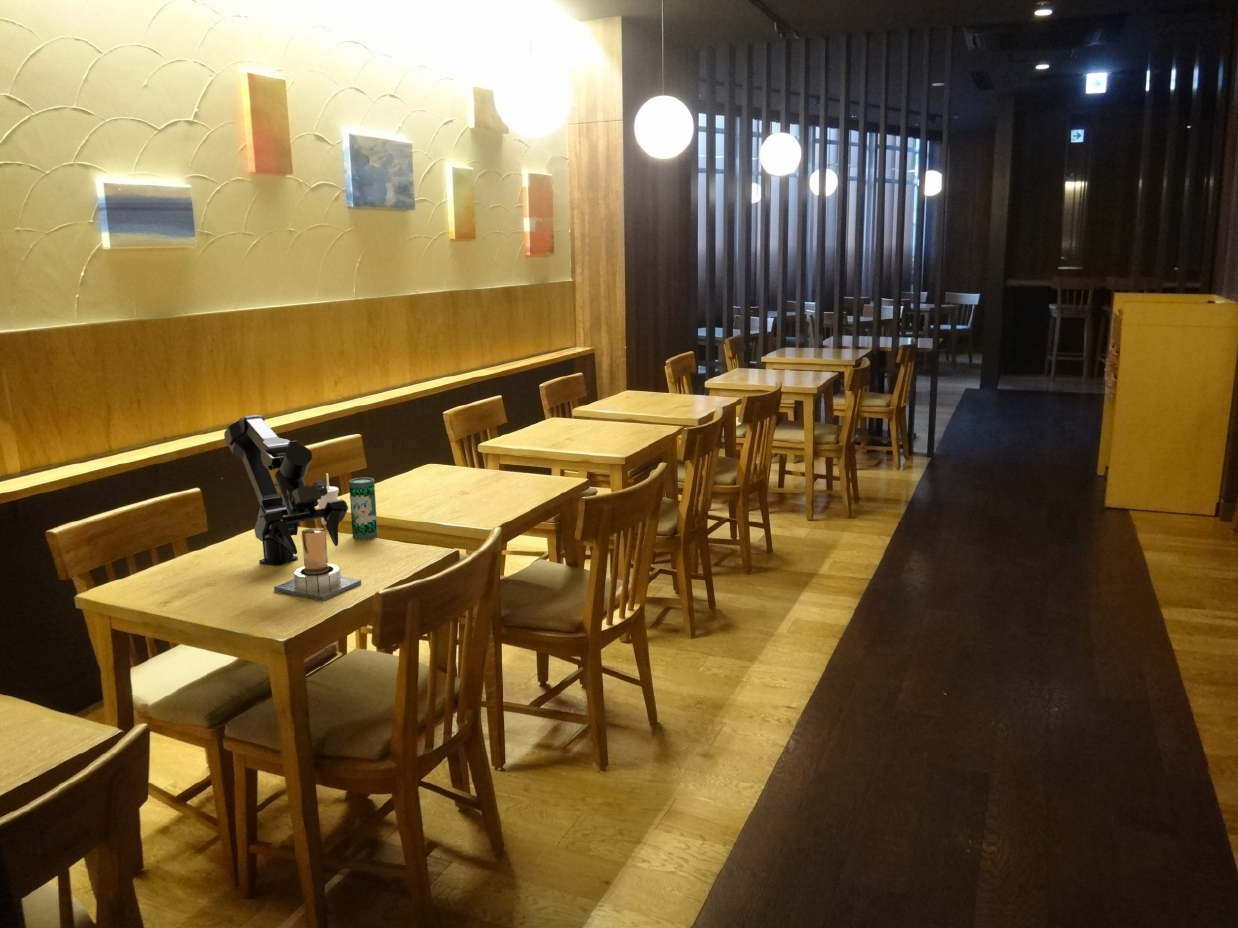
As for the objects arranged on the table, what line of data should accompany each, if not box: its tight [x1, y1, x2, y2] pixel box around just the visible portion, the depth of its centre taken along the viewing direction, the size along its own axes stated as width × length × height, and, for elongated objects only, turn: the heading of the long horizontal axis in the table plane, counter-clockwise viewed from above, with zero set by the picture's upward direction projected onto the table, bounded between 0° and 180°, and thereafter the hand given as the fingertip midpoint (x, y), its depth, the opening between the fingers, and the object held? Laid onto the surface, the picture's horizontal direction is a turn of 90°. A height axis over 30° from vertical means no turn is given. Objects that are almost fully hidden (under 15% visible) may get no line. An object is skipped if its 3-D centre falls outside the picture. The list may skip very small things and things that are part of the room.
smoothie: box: [317, 472, 340, 526], centre depth 264 cm, size 6×6×14 cm
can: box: [348, 477, 378, 541], centre depth 252 cm, size 6×6×15 cm
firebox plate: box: [273, 563, 362, 602], centre depth 216 cm, size 14×12×4 cm
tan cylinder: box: [301, 527, 329, 576], centre depth 214 cm, size 5×5×12 cm
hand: (316, 549), depth 213 cm, fingers open, 9 cm apart
